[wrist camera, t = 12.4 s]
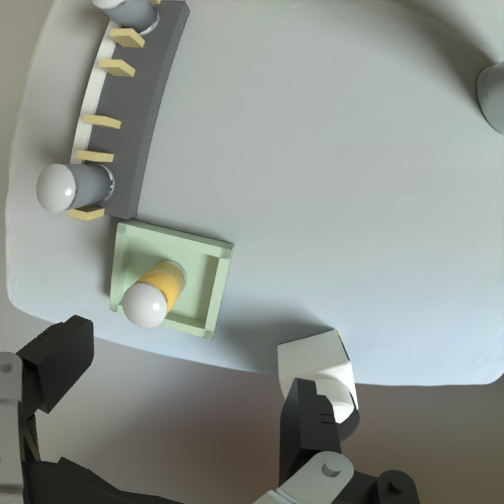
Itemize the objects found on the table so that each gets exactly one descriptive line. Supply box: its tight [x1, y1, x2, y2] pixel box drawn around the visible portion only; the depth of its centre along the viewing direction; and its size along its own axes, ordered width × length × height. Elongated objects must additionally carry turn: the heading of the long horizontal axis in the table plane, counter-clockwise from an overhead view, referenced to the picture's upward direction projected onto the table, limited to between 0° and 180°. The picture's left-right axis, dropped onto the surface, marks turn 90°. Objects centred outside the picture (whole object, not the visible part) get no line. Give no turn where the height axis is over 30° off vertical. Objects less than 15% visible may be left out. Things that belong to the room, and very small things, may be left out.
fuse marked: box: [122, 260, 187, 328], centre depth 29 cm, size 4×4×8 cm
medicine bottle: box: [277, 330, 360, 442], centre depth 30 cm, size 7×7×12 cm
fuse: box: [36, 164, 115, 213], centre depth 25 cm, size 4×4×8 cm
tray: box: [109, 219, 234, 339], centre depth 33 cm, size 12×10×2 cm
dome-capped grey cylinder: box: [91, 0, 160, 37], centre depth 21 cm, size 4×4×8 cm
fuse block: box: [67, 0, 190, 221], centre depth 27 cm, size 8×24×6 cm, turn 167°
